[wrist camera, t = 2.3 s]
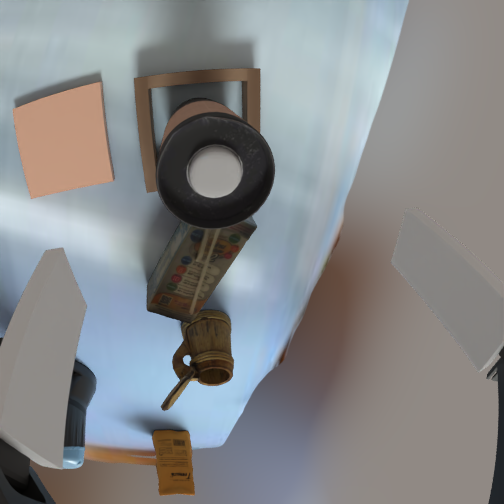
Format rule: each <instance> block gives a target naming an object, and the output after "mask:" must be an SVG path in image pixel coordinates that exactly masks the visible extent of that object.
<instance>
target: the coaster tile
mask: <svg viewBox="0 0 504 504" xmlns="http://www.w3.org/2000/svg"><path fill="white" fill-rule="evenodd" d="M13 116H14V123H15V130H16V135H17V141H18V146H19V151H20V156H21V161H22V165H23V170H24V174H25V178H26V182H27V185H28V189H29V193H30V196H31V199H33V198H36V197H41V196H45V195H49V194H53V193H58V192H62V191H67V190H71V189H76V188H81V187H86V186H91V185H96V184H101V183H107V182H112V181H114V179H115V177H114V172H113V166H112V160H111V154H110V147H109V141H108V133H107V126H106V117H105V108H104V98H103V87H102V82H97V83H93V84H89V85H85V86H81V87H77V88H74V89H70V90H67V91H63V92H60V93H57V94H54V95H50V96H47V97H44V98H41V99H39V100H36V101H33V102H30V103H28V104H25V105H22V106H20V107H17V108H15V109H13Z"/></svg>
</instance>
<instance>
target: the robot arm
mask: <svg viewBox="0 0 504 504" xmlns="http://www.w3.org/2000/svg"><path fill="white" fill-rule="evenodd" d="M391 264H392V265H393V266H394V267H395V268H396V269H397V270H398V271H399V273H400V274H401V275H402V276H403V277H404V278H405V279H406V280H407V281H408V283H409V284H410V285H411V286H412V287H413V289H415V291H416V292H417V293H418V295H419V296H420V297H421V298H422V299H423V300H424V302H425V303H426V304H427V305H428V307H429V308H430V309H431V310H432V311H433V313H434V314H435V315H436V316H437V318H438V319H439V320H440V321H441V323H442V324H443V325H444V326H445V328H446V329H447V330H448V332H449V333H450V334H451V336H452V337H453V338H454V340H455V341H456V342H457V343H458V345H459V346H460V348H461V349H462V350H463V352H464V353H465V354H466V356H467V357H468V359H469V360H470V361H471V363H472V364H473V366H474V367H475V369H476V370H477V371H478V372H480V371H482V370H483V369H484V368H486V367H487V366H489V365H490V364H491V362H492V361H493V360H494V358H495V357H496V356H497V355H498V354H499V355H500V356H501V358H500V359H499V360H498V361H497V363H496V364H495V365H494V366H493V367H492V369H491V370H490V371H489V372H488V374H487V379H489V378H490V377H491V376H492V375H493V374H494V373H495V372H497V373H496V374H495V375H494V376H493V377H492V380H494V381H498V393H499V394H498V395H499V418H498V419H499V420H498V440H497V452H496V453H497V454H496V462H495V470H494V477H493V483H492V489H491V494H490V499H489V504H504V283H503V281H501V279H500V278H498V276H497V275H495V273H493V272H492V271H491V270H490V269H489V268H488V267H487V266H486V265H485V264H484V263H483V262H482V261H481V260H480V259H479V258H478V257H476V256H475V255H474V254H473V253H472V252H471V251H470V250H469V249H468V248H467V247H465V246H464V245H463V244H462V243H461V242H460V241H458V240H457V239H456V238H455V237H454V236H453V235H451V234H450V233H449V232H448V231H447V230H445V229H444V228H443V227H442V226H441V225H439V224H438V223H437V222H436V221H434V220H433V219H432V218H431V217H429V216H428V215H427V214H425V213H424V212H423V211H422V210H420V209H419V208H408V209H405V213H404V217H403V221H402V225H401V229H400V232H399V236H398V239H397V243H396V247H395V250H394V253H393V257H392V260H391ZM86 308H87V305H86V302H85V300H84V298H83V296H82V294H81V291H80V289H79V287H78V284H77V282H76V280H75V277H74V275H73V272H72V270H71V267H70V265H69V262H68V260H67V257H66V254H65V252H64V249H63V248H57V249H51V250H46V251H45V252H44V254H43V256H42V258H41V260H40V261H39V263H38V265H37V267H36V269H35V271H34V272H33V274H32V276H31V278H30V280H29V282H28V284H27V286H26V288H25V290H24V292H23V294H22V296H21V299H20V301H19V303H18V305H17V307H16V309H15V312H14V314H13V316H12V319H11V321H10V323H9V326H8V328H7V331H6V333H5V336H4V338H0V504H56V503H55V502H54V500H53V499H52V497H51V496H50V494H49V493H48V491H47V490H46V489H45V487H44V485H43V484H42V482H41V480H40V479H39V477H38V475H37V474H36V472H35V471H34V470H33V468H32V467H31V466H29V465H30V459H31V460H33V461H35V462H36V463H38V464H39V465H41V466H46V467H51V468H58V469H63V468H67V469H68V468H69V469H72V468H78V467H80V466H81V465H82V464H83V461H84V451H85V424H86V410H87V407H88V405H89V403H90V401H91V399H92V397H93V395H94V393H95V391H96V378H95V376H94V374H93V373H92V372H91V371H90V370H89V369H88V368H87V367H85V366H84V365H82V364H80V363H78V362H76V361H75V356H76V351H77V346H78V342H79V337H80V333H81V328H82V324H83V320H84V316H85V312H86Z"/></svg>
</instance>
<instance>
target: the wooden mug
mask: <svg viewBox="0 0 504 504" xmlns="http://www.w3.org/2000/svg"><path fill="white" fill-rule="evenodd" d="M181 331H182V336H183V339H184V341H183V342H182V344H181V346H180V347H179V348H178V349H177V351H176V352H175V354H174V356H173V361H172V364H173V369H174V371H175V373H176V375H177V376H178V378H179V379H180V381H179V382H178V384H177V385H176V386H175V387H174V388H173V390H172V391H171V392H170V393H169V395H168V396H167V398H166V399H165V401H164V402H163V404H162V405H161V408H162V410H164V411H165V410H168V409H169V408H170V407H171V406H172V405H173V404H174V402H175V401H176V400H177V399H178V397H179V396H180V394H181V393H182V392H183V390H184V389H185V388H186V386H187V385H188V383H189V382H190V381H198V382H199V383H200V384H203V385H207V386H218V385H222V384H224V383H226V382H228V381H230V380H231V378H232V377H233V368H234V359H233V357H232V354H231V335H230V334H231V321H230V319H229V317H228V316H227V315H226V314H224V313H223V312H220V311H217V310H204V311H199V313H198V314H197V316H196V317H195V318H194V320H193V321H192V323H191V324H189V323H186V322H184V323H183V324H182V326H181ZM186 355H190V357H191V361H190V366H187V365H186V364H184V362H183V358H184V356H186Z"/></svg>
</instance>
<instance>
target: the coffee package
mask: <svg viewBox="0 0 504 504" xmlns="http://www.w3.org/2000/svg"><path fill="white" fill-rule="evenodd" d="M152 440H153V444H154V448H155V451H156V458H157V463H156V468H157V474H158V478H159V494H160V495H172V494H186V495H195V491H194V482H193V468H192V460H191V458H192V447H191V441H190V434H189V432H188V431H173V430H156V431H154V434H153V436H152Z"/></svg>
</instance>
